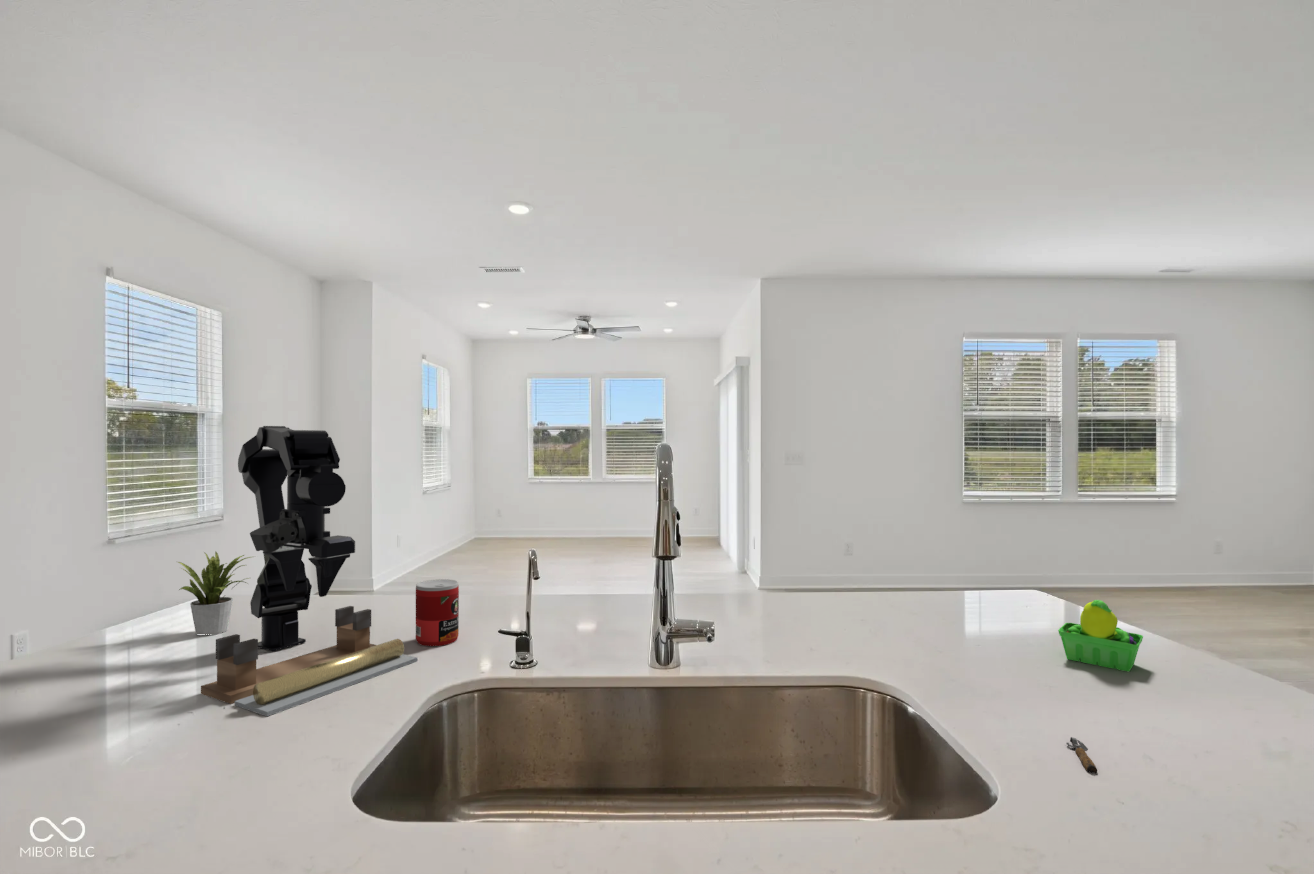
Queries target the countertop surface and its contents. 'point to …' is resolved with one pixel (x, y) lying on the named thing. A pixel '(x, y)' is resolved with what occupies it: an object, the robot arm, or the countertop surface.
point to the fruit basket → (1100, 639)
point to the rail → (326, 671)
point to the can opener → (1083, 755)
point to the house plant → (211, 596)
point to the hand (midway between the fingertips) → (305, 593)
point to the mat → (323, 687)
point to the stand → (241, 657)
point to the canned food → (437, 612)
